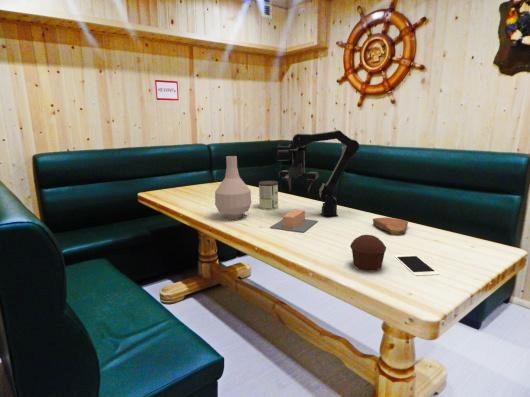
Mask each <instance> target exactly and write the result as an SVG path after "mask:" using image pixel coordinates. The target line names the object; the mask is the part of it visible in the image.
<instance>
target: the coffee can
mask: <svg viewBox="0 0 530 397" xmlns="http://www.w3.org/2000/svg"><path fill="white" fill-rule="evenodd" d="M278 188H279V181H277V180H261V181H259V182H258V190H259V193H258V194H259V195H258V197H259V209H260V210H263V211H273V210H277V209H279V191H278V190H279V189H278Z"/></svg>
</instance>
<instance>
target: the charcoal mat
mask: <svg viewBox="0 0 530 397" xmlns="http://www.w3.org/2000/svg"><path fill="white" fill-rule="evenodd" d="M318 222H319V220H316V219H307V218H305V221H304V222H303V223H301V224H299V225H298V226H296V227H295V228H293V229H292V228H285V227H283V218H282V219H281V220H279V221H278V222H276V223H274V224H273V225H270V227H269V229H274V230H281V231H287V232H295V233H302V234H304V233H306V232H307V231H308V230H310V229H311V228H312V227H313V226H315V225H316V224H317V223H318Z"/></svg>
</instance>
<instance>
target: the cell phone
mask: <svg viewBox="0 0 530 397" xmlns="http://www.w3.org/2000/svg"><path fill="white" fill-rule="evenodd" d="M393 257H394V258H395V259H396V260H397V261H399V263H401V264H402V265H403V266H404V267H405V268H406V269H407V270H408V271H409V272H411V273H412V274H413V276H414V277H415V276H416V277H421V276H422V277H423V276H424V277H425V276H426V277H427V276H438V275H440V273H439V272H438V271H437V270H435V269H434V268H433V267H432V266H431V265H429V264H428V263H427V262H425V261H424V260H423V259H422V258H421V257H419V256H418V255H417V254H398V255H394V256H393Z"/></svg>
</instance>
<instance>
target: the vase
mask: <svg viewBox="0 0 530 397" xmlns="http://www.w3.org/2000/svg"><path fill="white" fill-rule="evenodd" d="M237 158H238V156H236V155H228V156H227V155H226V156H225V159H226V170H225V175H224V178H223V180H222V182H221V183H220V184H219V186H218V187H217V188H216V189H215V191H214V205H215V207H216V209H217V211H218V213H221V214H223V215H226V218H228V219H231V220H236V219H240V218H241V215H243V214H244V213H246V212H248V211H249V210H250V208H251V204H252V195H251V194H252V193H251V192H252V191H251V189H250V188H249V187H248V185H246V183H245V182H244V181H243V179H242V178H241V177H240V173H239V169H238V159H237Z"/></svg>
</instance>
